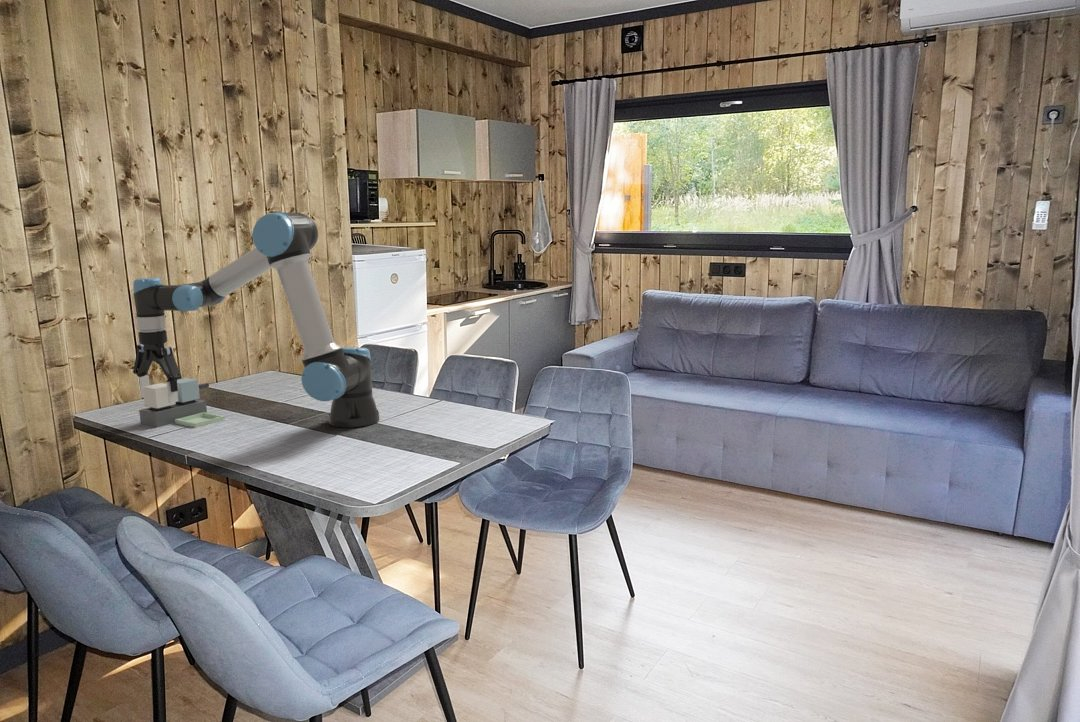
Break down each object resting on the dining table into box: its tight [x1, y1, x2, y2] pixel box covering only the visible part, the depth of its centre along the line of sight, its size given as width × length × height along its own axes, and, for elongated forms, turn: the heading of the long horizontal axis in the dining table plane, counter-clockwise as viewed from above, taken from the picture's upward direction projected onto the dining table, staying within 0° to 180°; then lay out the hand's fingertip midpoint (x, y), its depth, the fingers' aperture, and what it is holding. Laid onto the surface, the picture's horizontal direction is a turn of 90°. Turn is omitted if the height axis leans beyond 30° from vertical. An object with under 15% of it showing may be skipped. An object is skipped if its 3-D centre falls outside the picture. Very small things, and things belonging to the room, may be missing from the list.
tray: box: [174, 412, 226, 429], centre depth 231 cm, size 10×10×2 cm
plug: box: [143, 382, 176, 412], centre depth 229 cm, size 6×6×11 cm
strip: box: [138, 377, 210, 429], centre depth 235 cm, size 8×21×12 cm, turn 150°
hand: (159, 399), depth 229 cm, fingers open, 13 cm apart
